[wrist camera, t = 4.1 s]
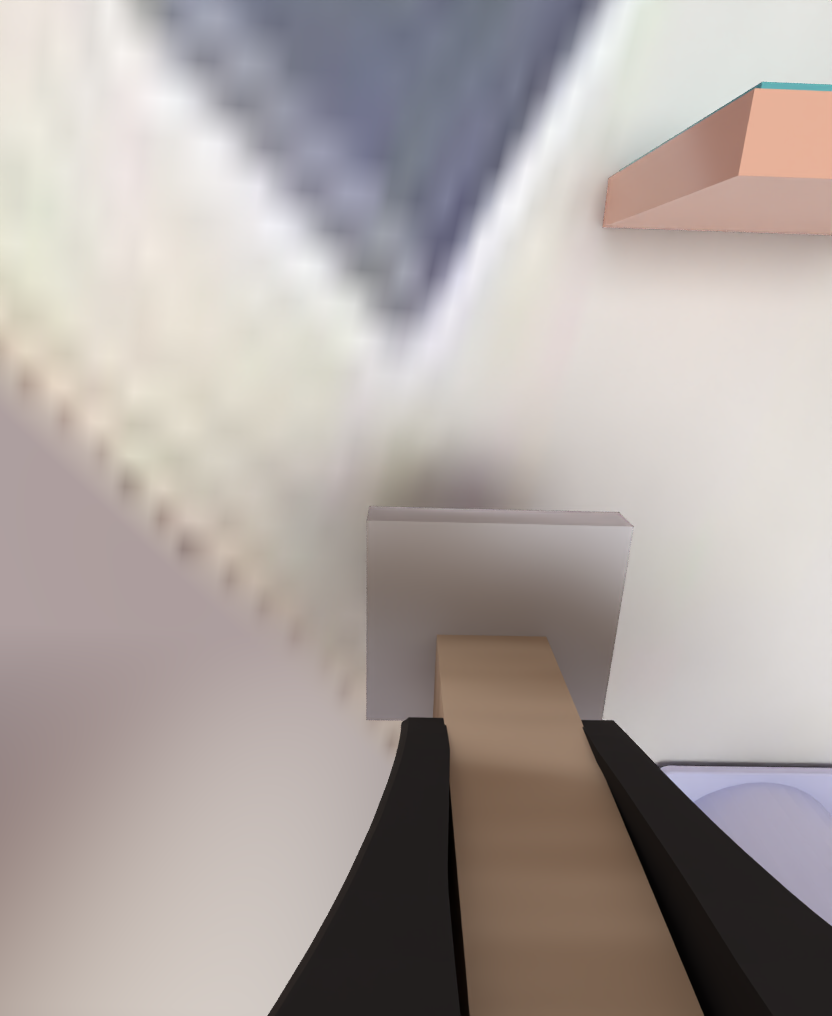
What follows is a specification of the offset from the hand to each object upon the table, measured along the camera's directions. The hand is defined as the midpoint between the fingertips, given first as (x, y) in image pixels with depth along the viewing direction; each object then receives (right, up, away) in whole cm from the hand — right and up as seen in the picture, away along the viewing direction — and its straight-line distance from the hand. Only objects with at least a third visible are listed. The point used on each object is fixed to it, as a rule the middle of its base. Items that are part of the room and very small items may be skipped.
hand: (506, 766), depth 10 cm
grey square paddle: (0, +2, +3) cm, 3 cm away
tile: (+7, +13, +6) cm, 16 cm away
